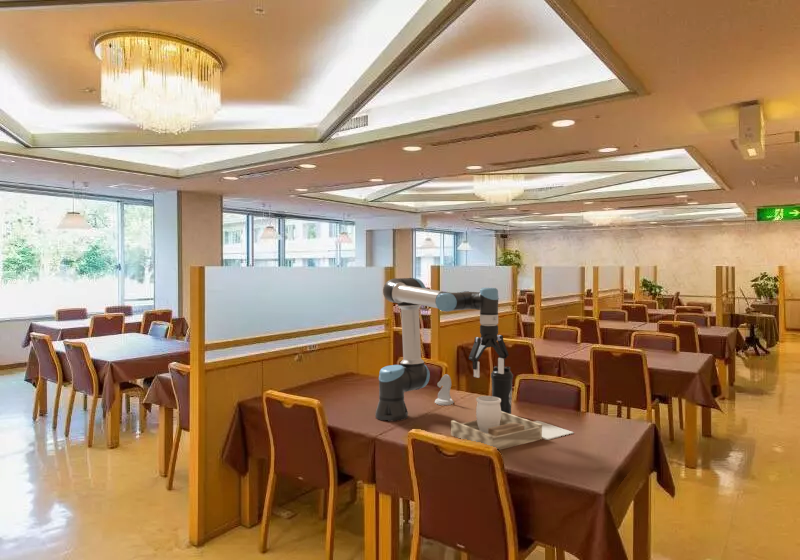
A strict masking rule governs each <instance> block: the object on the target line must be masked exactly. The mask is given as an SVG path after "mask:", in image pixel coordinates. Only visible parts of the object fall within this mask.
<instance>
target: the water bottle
mask: <svg viewBox="0 0 800 560" xmlns="http://www.w3.org/2000/svg"><path fill="white" fill-rule="evenodd" d="M513 378H514V374H513V372H512V371H511V366H504V374H500V373H498V365H495V366H494V367H493V370H492V371H491V373H490V379H491V396H494V397H498V398H500V399H501V402H500V406H501V411H503V412H506V413H509V414H512V401H513V400H512V398H513Z"/></svg>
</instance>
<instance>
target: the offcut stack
mask: <svg viewBox="0 0 800 560" xmlns="http://www.w3.org/2000/svg"><path fill="white" fill-rule="evenodd" d="M521 430H524V425H522V424H519V423H516V422H513V423H509V424H505V425H500V426H496V427H492V428H488V434H489V435H491V436H492V437H495V436H500V435H504V434H508V433H513V432H517V431H521Z"/></svg>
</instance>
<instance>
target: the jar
mask: <svg viewBox="0 0 800 560" xmlns="http://www.w3.org/2000/svg"><path fill="white" fill-rule="evenodd" d="M475 401H476V408H475V416H476V420H477V424H478V427H479V429H480V430H479V431H481V432H484V433H486V434H488V428H492V427H496V426H500V420H501V406H500V402H501V399H500V398H498V397H494V396H492V395H480V396H478V397H476V398H475Z"/></svg>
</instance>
